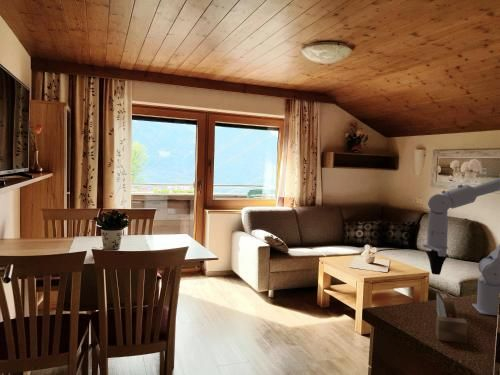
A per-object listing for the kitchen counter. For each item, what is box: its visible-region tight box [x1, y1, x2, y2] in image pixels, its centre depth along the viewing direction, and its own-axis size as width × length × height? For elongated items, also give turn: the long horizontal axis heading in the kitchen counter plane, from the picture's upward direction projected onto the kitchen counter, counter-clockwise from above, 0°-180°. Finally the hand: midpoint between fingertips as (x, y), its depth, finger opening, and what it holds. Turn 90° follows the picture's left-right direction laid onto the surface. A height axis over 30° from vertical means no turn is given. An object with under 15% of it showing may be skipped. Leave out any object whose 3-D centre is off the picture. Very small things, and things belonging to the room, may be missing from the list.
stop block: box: [435, 315, 468, 344], centre depth 94 cm, size 6×3×5 cm, turn 77°
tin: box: [435, 290, 458, 318], centre depth 103 cm, size 15×3×8 cm, turn 163°
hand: (435, 274), depth 120 cm, fingers closed
